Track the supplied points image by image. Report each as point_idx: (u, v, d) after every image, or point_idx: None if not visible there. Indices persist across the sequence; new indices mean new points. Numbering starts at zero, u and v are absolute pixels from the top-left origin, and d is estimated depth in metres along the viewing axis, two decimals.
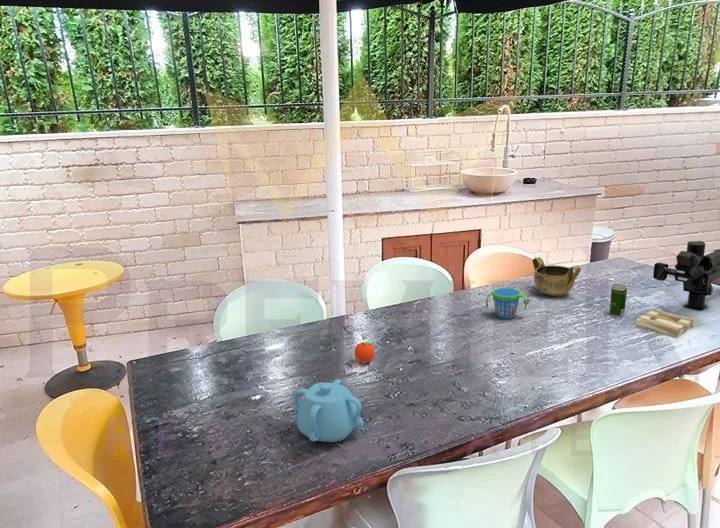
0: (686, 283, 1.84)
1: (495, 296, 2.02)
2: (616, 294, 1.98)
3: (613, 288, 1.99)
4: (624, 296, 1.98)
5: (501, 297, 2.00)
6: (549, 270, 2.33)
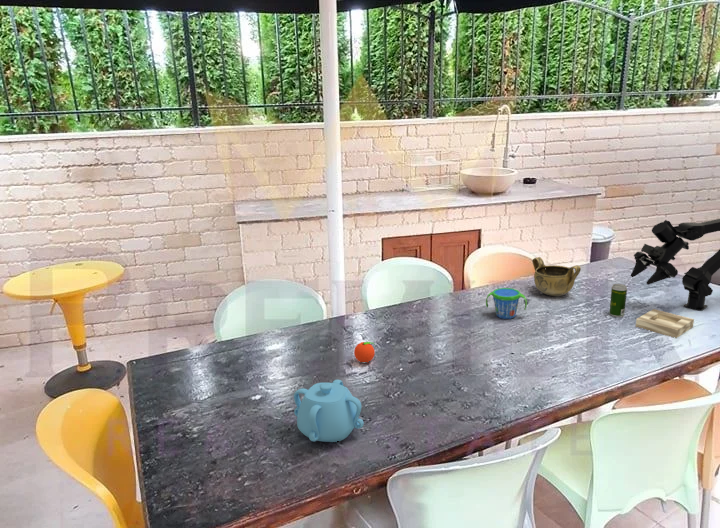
0: (649, 282, 1.95)
1: (495, 296, 2.02)
2: (616, 294, 1.98)
3: (613, 288, 1.99)
4: (624, 296, 1.98)
5: (501, 297, 2.00)
6: (549, 270, 2.33)
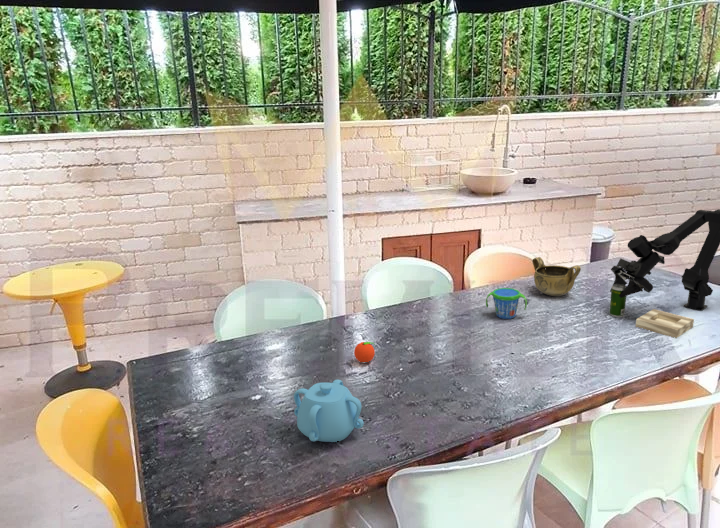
0: (622, 295, 1.97)
1: (495, 296, 2.02)
2: (616, 294, 1.98)
3: (613, 288, 1.99)
4: None
5: (501, 297, 2.00)
6: (549, 270, 2.33)
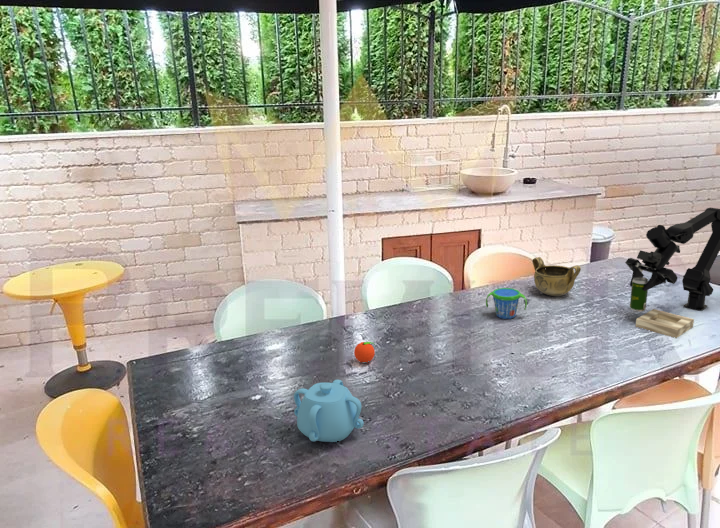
0: (645, 288, 1.89)
1: (495, 296, 2.02)
2: (639, 288, 1.90)
3: (635, 282, 1.91)
4: None
5: (501, 297, 2.00)
6: (549, 270, 2.33)
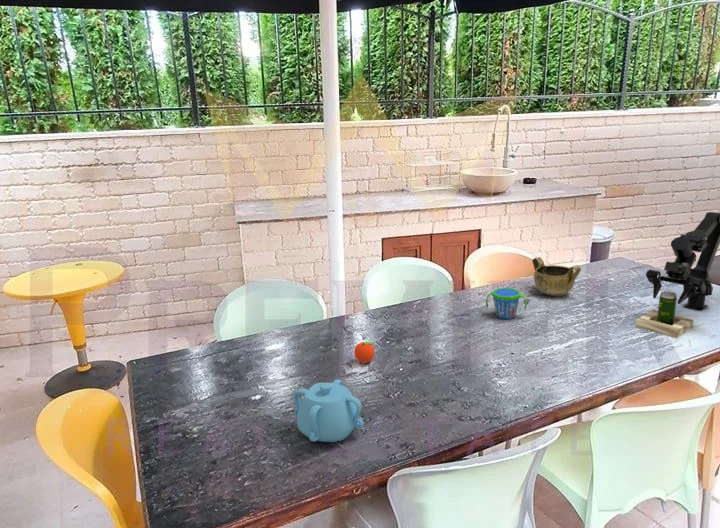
0: (680, 301, 1.83)
1: (495, 296, 2.02)
2: (670, 303, 1.85)
3: (665, 297, 1.85)
4: (675, 304, 1.86)
5: (501, 297, 2.00)
6: (549, 270, 2.33)
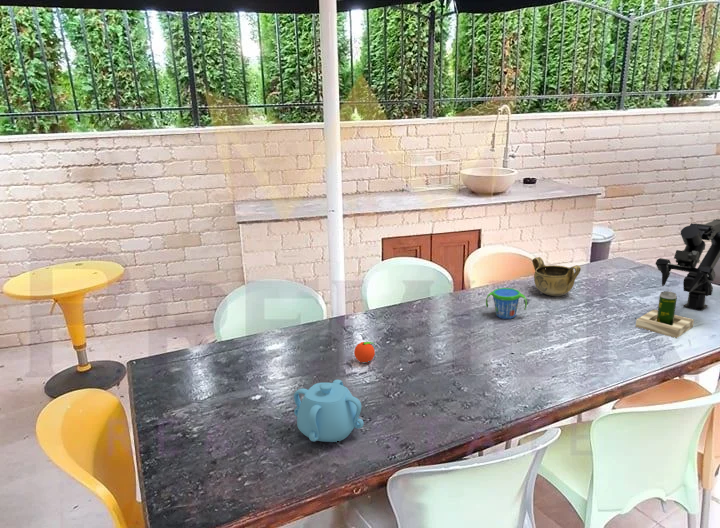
0: (691, 289, 1.86)
1: (495, 296, 2.02)
2: (670, 303, 1.85)
3: (665, 297, 1.85)
4: (675, 304, 1.86)
5: (501, 297, 2.00)
6: (549, 270, 2.33)
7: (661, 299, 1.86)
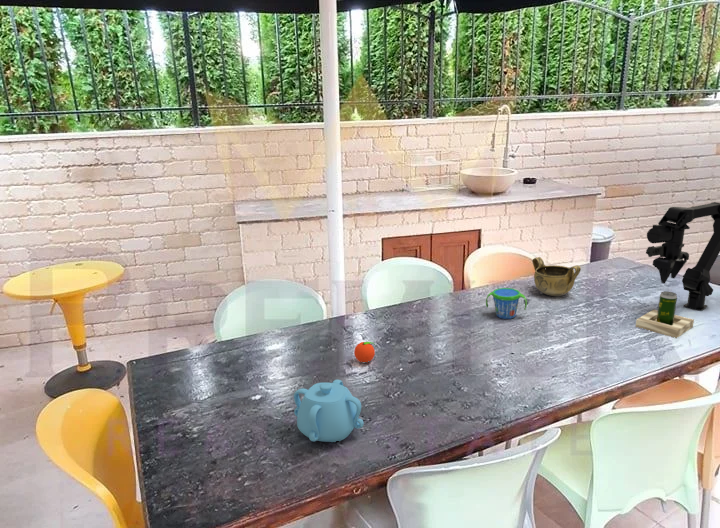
0: (662, 281, 1.96)
1: (495, 296, 2.02)
2: (670, 303, 1.85)
3: (665, 297, 1.85)
4: (675, 304, 1.86)
5: (501, 297, 2.00)
6: (549, 270, 2.33)
7: (661, 299, 1.87)
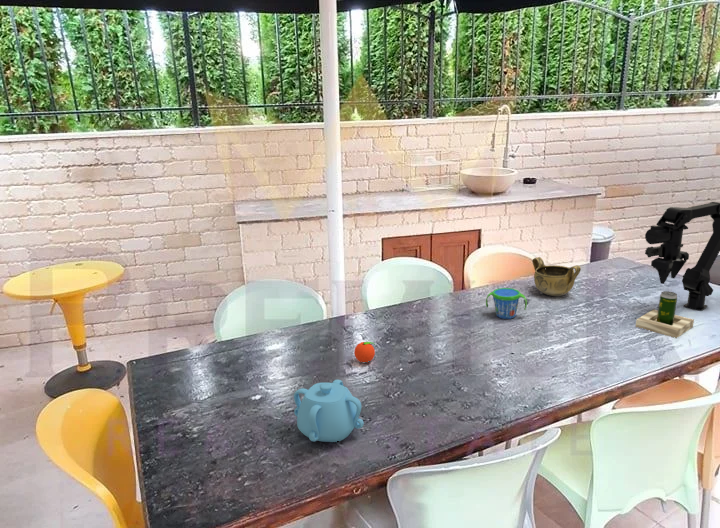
0: (661, 281, 1.96)
1: (495, 296, 2.02)
2: (670, 303, 1.85)
3: (666, 297, 1.85)
4: None
5: (501, 297, 2.00)
6: (549, 270, 2.33)
7: (661, 299, 1.87)
